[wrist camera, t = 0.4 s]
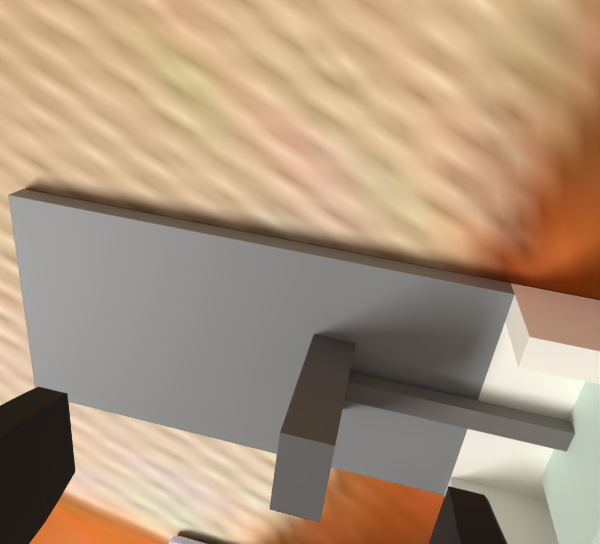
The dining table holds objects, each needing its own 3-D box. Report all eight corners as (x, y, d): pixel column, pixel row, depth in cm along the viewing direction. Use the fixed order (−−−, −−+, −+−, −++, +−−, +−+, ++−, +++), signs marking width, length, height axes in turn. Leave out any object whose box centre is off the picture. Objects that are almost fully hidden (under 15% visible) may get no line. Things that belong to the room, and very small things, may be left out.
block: (688, 513, 18) (773, 669, 14) (300, 420, 20) (266, 531, 16) (761, 403, 16) (892, 547, 12) (317, 309, 18) (283, 403, 13)
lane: (711, 545, 20) (762, 636, 17) (47, 382, 23) (-7, 433, 20) (852, 349, 16) (952, 424, 13) (23, 188, 19) (-48, 218, 16)
